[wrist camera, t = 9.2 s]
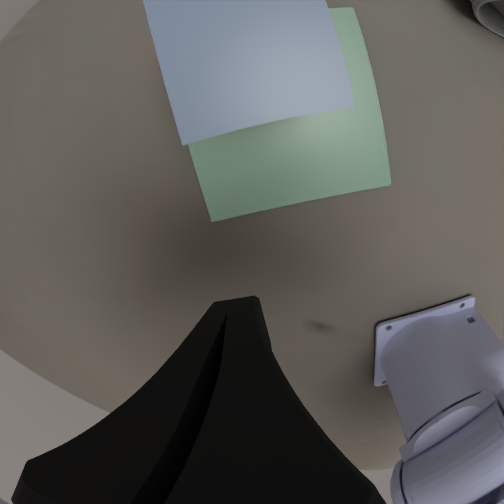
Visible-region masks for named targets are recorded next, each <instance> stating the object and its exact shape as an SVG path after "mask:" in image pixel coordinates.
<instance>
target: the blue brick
mask: <svg viewBox="0 0 504 504" xmlns="http://www.w3.org/2000/svg"><path fill="white" fill-rule="evenodd" d="M143 2H144V6H145V10H146V14H147V18H148V22H149V26H150V30H151V34H152V38H153V42H154V46H155V49H156V53H157V57H158V61H159V65H160V68H161V72H162V76H163V79H164V83H165V87H166V90H167V94H168V97H169V101H170V104H171V108H172V111H173V115H174V118H175V122H176V125H177V129H178V132H179V136H180V139H181V142H182V146H183V145H186V144H189V143H192V142H196V141H199V140H203V139H206V138H209V137H213V136H217V135H220V134H224V133H228V132H231V131H235V130H239V129H243V128H247V127H251V126H256V125H260V124H264V123H269V122H273V121H278V120H283V119H287V118H292V117H298V116H303V115H308V114H314V113H320V112H326V111H332V110H339V109H346V108H353V107H355V103H354V98H353V94H352V89H351V85H350V81H349V77H348V73H347V69H346V65H345V61H344V58H343V54H342V50H341V47H340V43H339V40H338V37H337V33H336V30H335V27H334V24H333V21H332V18H331V15H330V12H329V9H328V6H327V3H326V0H143Z"/></svg>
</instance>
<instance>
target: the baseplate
mask: <svg viewBox="0 0 504 504" xmlns="http://www.w3.org/2000/svg"><path fill="white" fill-rule="evenodd" d="M329 12H330V15H331V18H332V21H333V24H334V27H335V30H336V33H337V37H338V40H339V43H340V47H341V50H342V54H343V58H344V61H345V65H346V69H347V73H348V77H349V81H350V85H351V89H352V94H353V98H354V103H355V107H353V108H346V109H339V110H332V111H326V112H320V113H314V114H308V115H303V116H298V117H292V118H287V119H283V120H278V121H273V122H269V123H264V124H260V125H256V126H251V127H247V128H243V129H239V130H235V131H231V132H228V133H224V134H220V135H217V136H213V137H209V138H206V139H203V140H199V141H196V142H192V143H189V144H188V147H189V150H190V153H191V157H192V160H193V163H194V167H195V170H196V173H197V177H198V180H199V183H200V187H201V190H202V193H203V196H204V200H205V203H206V206H207V209H208V212H209V216H210V219H211V222H216V221H220V220H224V219H228V218H233V217H237V216H241V215H246V214H250V213H255V212H259V211H264V210H268V209H273V208H277V207H282V206H287V205H292V204H296V203H301V202H306V201H311V200H316V199H321V198H326V197H331V196H336V195H341V194H346V193H351V192H357V191H362V190H367V189H373V188H378V187H384V186H389V185H391V177H390V169H389V160H388V153H387V146H386V139H385V133H384V127H383V121H382V115H381V110H380V105H379V100H378V95H377V90H376V86H375V82H374V77H373V73H372V69H371V65H370V61H369V57H368V54H367V50H366V46H365V43H364V39H363V36H362V33H361V29H360V26H359V23H358V20H357V17H356V14H355V11H354V8H353V7H347V8H329Z"/></svg>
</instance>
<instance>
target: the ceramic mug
mask: <svg viewBox="0 0 504 504" xmlns="http://www.w3.org/2000/svg"><path fill="white" fill-rule="evenodd" d="M470 1H471V2H472V9H473V13H474V15H475V17H476V18H477V20H478V21H479V22H480V23H481V24H482V25H483V26H485V27H486V28H488V29H489V30H491V31H492V32H494V33H496V34H498V35H500V36H502V37H504V0H470Z"/></svg>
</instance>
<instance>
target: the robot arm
mask: <svg viewBox="0 0 504 504" xmlns="http://www.w3.org/2000/svg"><path fill="white" fill-rule="evenodd" d="M474 304H475V298H474V296H472V295H470V296H467V297H464V298H462V299H459V300H456V301H453V302H450V303H446V304H443V305H440V306H437V307H434V308H431V309H427V310H424V311H421V312H417V313H414V314H410V315H407V316H403V317H399V318H396V319H392V320H388V321H385V322H381V323H379V324H378V325H377V326H376V341H375V367H374V385H375V386H377V387H378V386H382V385H386V384H388V386H389V389H390V392H391V395H392V398H393V401H394V404H395V407H396V410H397V413H398V416H399V419H400V422H401V426H402V429H403V432H404V435H405V439H406V442H407V444H405V445H404V446H402V447H401V448H400V449H399V450H400V453H401V457H402V460H400V461H399V462H398V463H397V464H396V465H395V467H394V470H393V474H392V477H391V483H390V491H391V498H392V501H393V504H504V345H503V344H502V342H501V341H500V339H499V338H498V337H497V335H496V334H495V333H494V331H493V330H492V329H491V327H490V326H489V325H488V323H487V322H486V321H485V320H484V318H483V317H482V316H481V314H480V313H479V312H478V311H477V309H476V308H475V307H474ZM387 326H389V327H387ZM386 327H387V328H386ZM11 500H12V502H13V504H386V502H385V501H384V499H383V498H382V496H381V495H380V494H379V492H378V490H377V489H376V487H375V485H374V484H373V483H372V482H371V481H370V480H369V479H368V478H366V477H365V476H364V475H363V474H362V473H361V472H360V471H359V470H358V469H357V468H356V467H355V466H354V465H353V464H352V463H351V462H350V461H349V460H348V459H347V458H346V457H345V456H344V454H343V453H342V452H341V451H340V450H339V449H338V448H337V447H336V445H335V444H334V443H333V442H332V441H331V440H330V439H329V438H328V436H327V435H326V434H325V433H324V431H323V430H322V429H321V428H320V426H319V425H318V424H317V422H316V421H315V420H314V418H313V417H312V416H311V415H310V413H309V412H308V411H307V409H306V408H305V407H304V405H303V404H302V402H301V401H300V399H299V398H298V396H297V395H296V393H295V392H294V390H293V389H292V387H291V385H290V384H289V382H288V380H287V379H286V377H285V375H284V374H283V372H282V370H281V368H280V366H279V364H278V362H277V360H276V358H275V356H274V354H273V352H272V349H271V342H270V338H269V334H268V331H267V327H266V323H265V319H264V316H263V312H262V308H261V304H260V301H259V298H257V297H256V296H249V297H243V298H237V299H231V300H224V301H218V302H214V303H213V304H212V305H211V306H210V308H209V309H208V310H207V312H206V313H205V314H204V316H203V317H202V318H201V319H200V321H199V322H198V323H197V325H196V326H195V327H194V329H193V330H192V331H191V332H190V334H189V335H188V336H187V337H186V339H185V340H184V341H183V342H182V344H181V345H180V346H179V347H178V349H177V350H176V351H175V352H174V353H173V354H172V355H171V357H170V358H169V359H168V360H167V361H166V362H165V363H164V364H163V366H162V367H161V368H160V369H159V370H158V371H157V372H156V373H155V374H154V375H153V376H152V377H151V378H150V379H149V380H148V381H147V382H146V383H145V384H144V385H143V386H142V387H141V388H140V389H139V390H138V391H137V392H136V393H135V394H134V395H132V396H131V397H130V398H129V399H128V400H127V401H126V402H124V403H123V404H122V405H120V406H119V407H118V408H117V409H115V410H114V411H113V412H111V413H110V414H109V415H108V416H106V417H105V418H104V419H102V420H101V421H100V422H98V423H97V424H95V425H94V426H92V427H91V428H90V429H88V430H86V431H85V432H83V433H82V434H80V435H78V436H77V437H75V438H73V439H72V440H70V441H68V442H66V443H64V444H63V445H61V446H59V447H57V448H55V449H53V450H50V451H48V452H46V453H44V454H42V455H40V456H37V457H35V458H33V459H30V460H28V461H27V462H26V464H25V467H24V469H23V471H22V474H21V476H20V479H19V481H18V484H17V486H16V489H15V491H14V493H13V496H12V498H11ZM0 504H9V503H7V502H6V501H4V500H3V499H1V498H0Z"/></svg>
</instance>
